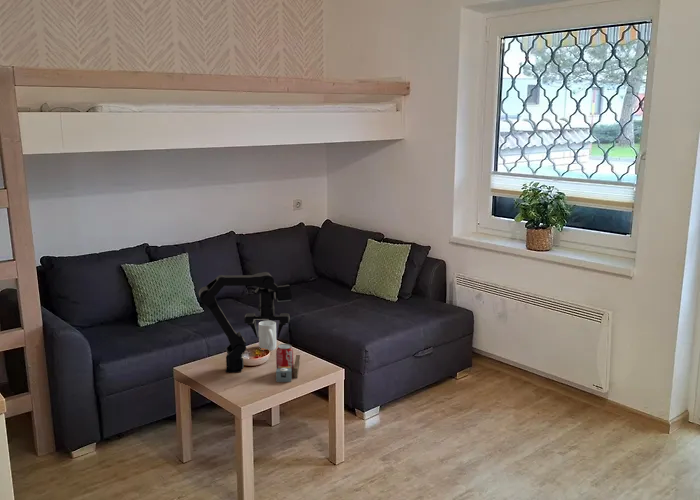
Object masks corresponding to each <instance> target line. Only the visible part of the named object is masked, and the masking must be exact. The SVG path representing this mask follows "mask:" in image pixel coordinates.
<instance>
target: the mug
mask: <svg viewBox="0 0 700 500" xmlns="http://www.w3.org/2000/svg"><path fill="white" fill-rule="evenodd" d="M257 333H258V337H257V338H258V348H259V347H260V348H265V349H268V350H270V351H274V350H275V349H276V350H277V321H275V320H260V322H258V330H257ZM260 348H259V349H260Z"/></svg>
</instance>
